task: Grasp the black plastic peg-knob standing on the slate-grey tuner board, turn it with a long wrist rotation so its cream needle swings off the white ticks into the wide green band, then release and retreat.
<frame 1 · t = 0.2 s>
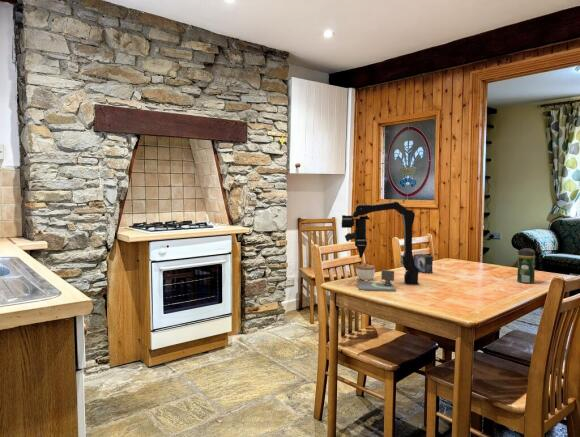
hand: (360, 256, 225), 14 cm above the table, fingers open, 9 cm apart
tuner board: (375, 287, 215), on the table
peg knob: (381, 276, 216), point 5 cm above the table, hinge at -30.0°
small box: (422, 272, 257), on the table
lidded jar: (365, 280, 233), on the table
coffee jar: (525, 282, 228), on the table
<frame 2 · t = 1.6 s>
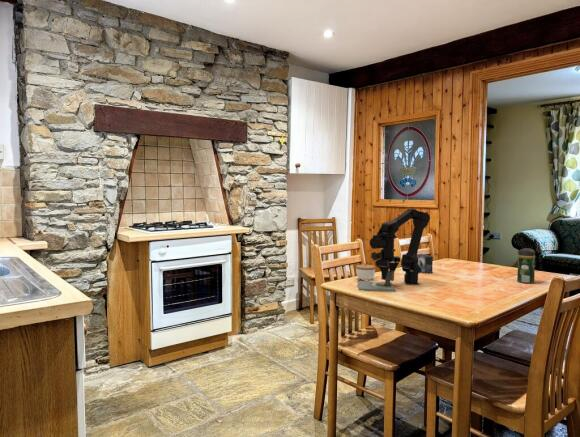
hand: (387, 277, 214), 5 cm above the table, fingers open, 9 cm apart
nothing on the table moved.
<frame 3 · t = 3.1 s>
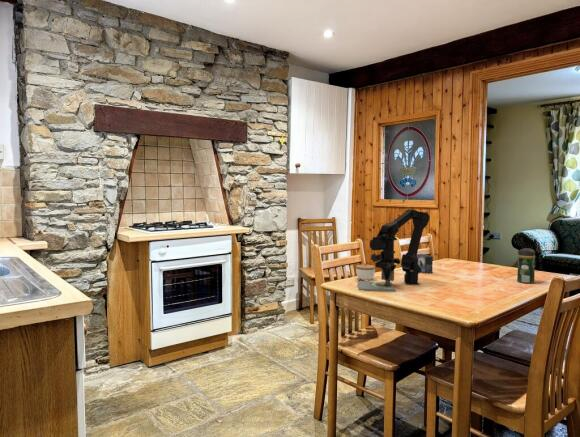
hand: (387, 279, 214), 4 cm above the table, fingers closed on peg knob, 2 cm apart
peg knob: (381, 276, 216), point 5 cm above the table, hinge at -30.0°, touching gripper
everything else where it was.
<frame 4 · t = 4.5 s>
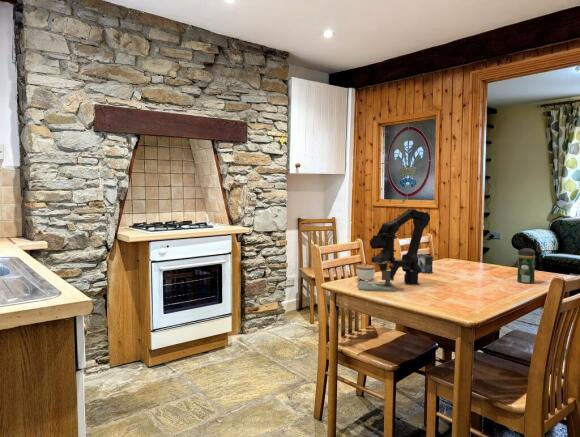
hand: (387, 277, 214), 5 cm above the table, fingers closed on peg knob, 5 cm apart
peg knob: (380, 277, 215), point 5 cm above the table, hinge at -6.5°, touching gripper
everything else where it was.
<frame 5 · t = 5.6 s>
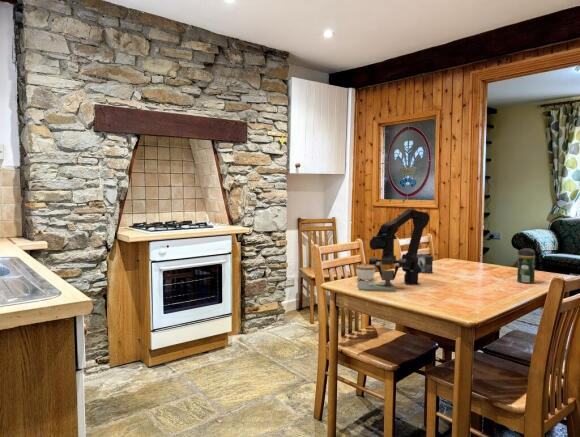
hand: (387, 278, 214), 5 cm above the table, fingers closed on peg knob, 6 cm apart
peg knob: (381, 277, 213), point 5 cm above the table, hinge at 15.1°, touching gripper
everything else where it was.
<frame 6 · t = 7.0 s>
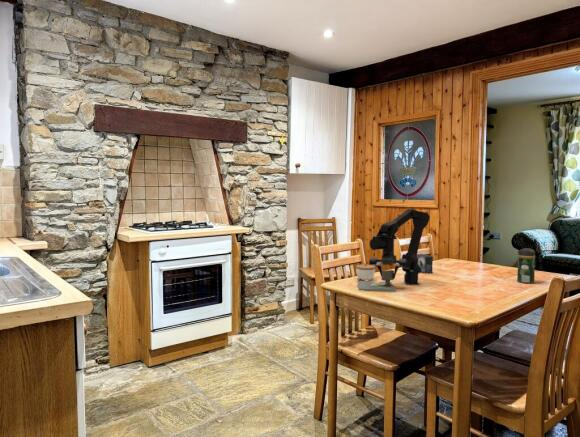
hand: (388, 278, 214), 5 cm above the table, fingers closed on peg knob, 6 cm apart
peg knob: (381, 278, 213), point 5 cm above the table, hinge at 26.8°, touching gripper
everything else where it was.
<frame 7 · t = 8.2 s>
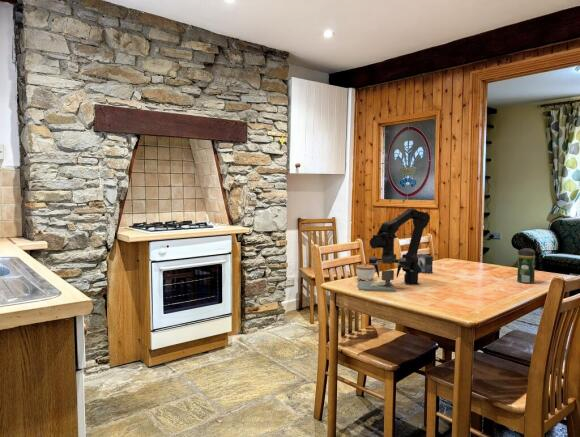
hand: (387, 277, 214), 5 cm above the table, fingers open, 9 cm apart
peg knob: (381, 278, 213), point 5 cm above the table, hinge at 28.8°
everything else where it was.
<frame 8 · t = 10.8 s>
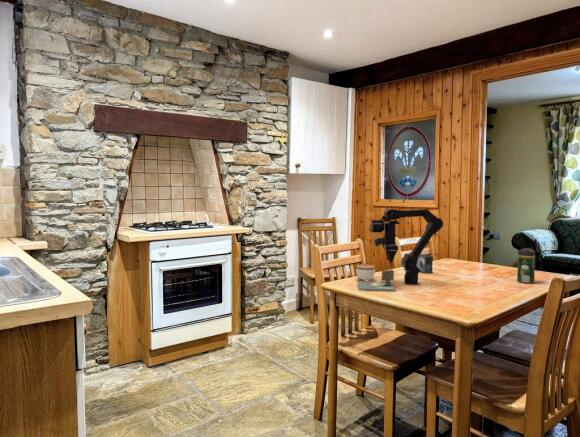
hand: (389, 261, 222), 12 cm above the table, fingers open, 9 cm apart
peg knob: (382, 278, 212), point 5 cm above the table, hinge at 30.0°
everything else where it was.
at the end: peg knob at +30° (first picture: -30°); the gripper is holding nothing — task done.
